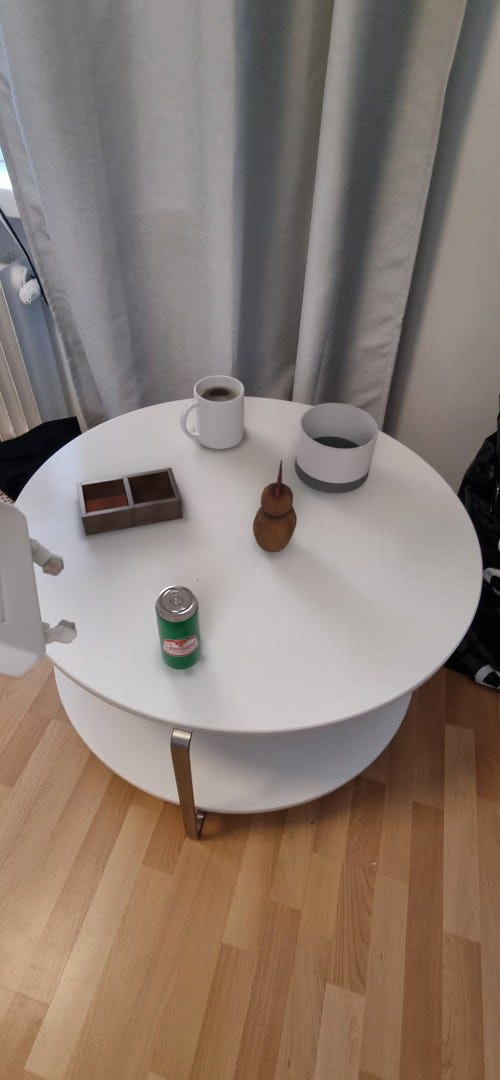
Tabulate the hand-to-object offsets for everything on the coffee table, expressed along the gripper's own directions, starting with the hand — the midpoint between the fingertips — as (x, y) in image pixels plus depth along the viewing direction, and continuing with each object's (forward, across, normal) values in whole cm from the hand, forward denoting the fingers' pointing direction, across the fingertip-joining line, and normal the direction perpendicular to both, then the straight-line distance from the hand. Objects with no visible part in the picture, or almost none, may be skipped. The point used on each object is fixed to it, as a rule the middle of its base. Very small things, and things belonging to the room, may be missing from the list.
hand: (66, 599), depth 63 cm
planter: (+44, +26, -21) cm, 56 cm away
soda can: (+20, -1, +3) cm, 20 cm away
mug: (+33, +43, -10) cm, 55 cm away
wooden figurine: (+33, +14, -10) cm, 37 cm away
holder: (+19, +28, +3) cm, 34 cm away
